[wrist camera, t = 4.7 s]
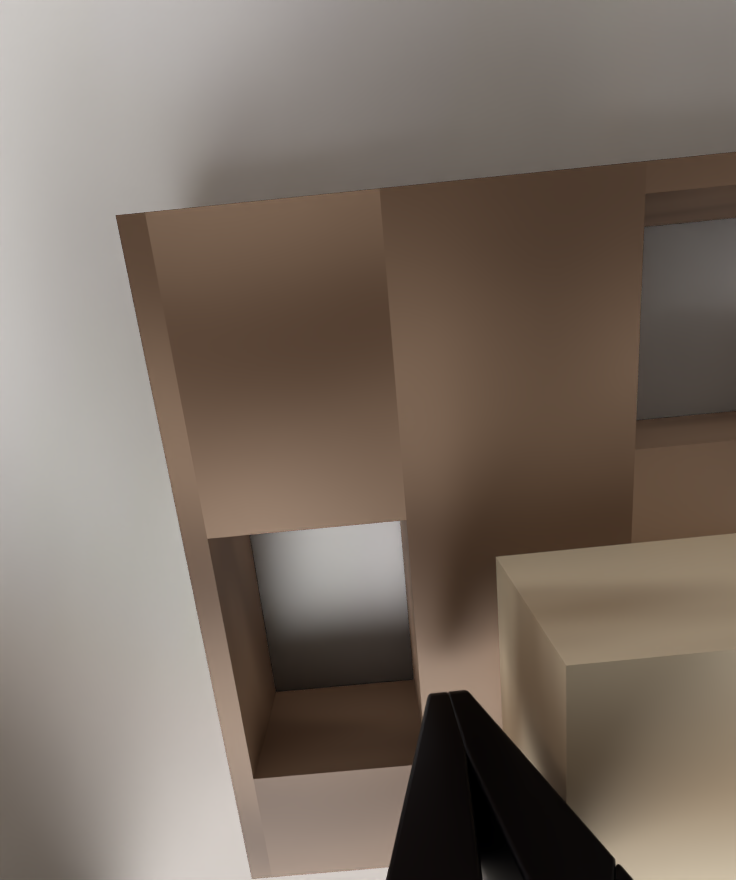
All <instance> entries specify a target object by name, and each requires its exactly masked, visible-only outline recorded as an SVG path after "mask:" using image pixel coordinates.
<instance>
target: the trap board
mask: <svg viewBox="0 0 736 880" xmlns="http://www.w3.org/2000/svg"><path fill="white" fill-rule="evenodd" d="M728 218H736V152H730V153H720V154H711V155H701V156H691V157H681V158H672V159H662V160H652V161H642V162H632V163H623V164H613V165H603V166H593V167H584V168H574V169H564V170H554V171H544V172H535V173H525V174H515V175H505V176H496V177H486V178H476V179H466V180H457V181H447V182H437V183H427V184H417V185H408V186H398V187H388V188H378V189H369V190H359V191H349V192H339V193H330V194H320V195H310V196H300V197H290V198H281V199H271V200H261V201H251V202H242V203H232V204H222V205H212V206H203V207H193V208H183V209H173V210H163V211H154V212H144V213H134V214H124V215H116V219H117V224H118V229H119V234H120V239H121V244H122V249H123V253H124V258H125V263H126V268H127V273H128V278H129V283H130V288H131V292H132V297H133V302H134V307H135V312H136V317H137V322H138V326H139V331H140V336H141V341H142V346H143V351H144V356H145V361H146V365H147V370H148V375H149V380H150V385H151V390H152V395H153V400H154V404H155V409H156V414H157V419H158V424H159V429H160V434H161V438H162V443H163V448H164V453H165V458H166V463H167V468H168V473H169V477H170V482H171V487H172V492H173V497H174V502H175V507H176V512H177V516H178V521H179V526H180V531H181V536H182V541H183V546H184V551H185V555H186V560H187V565H188V570H189V575H190V580H191V585H192V589H193V594H194V599H195V604H196V609H197V614H198V619H199V624H200V628H201V633H202V638H203V643H204V648H205V653H206V658H207V663H208V667H209V672H210V677H211V682H212V687H213V692H214V697H215V701H216V706H217V711H218V716H219V721H220V726H221V731H222V736H223V740H224V745H225V750H226V755H227V760H228V765H229V770H230V775H231V779H232V784H233V789H234V794H235V799H236V804H237V809H238V813H239V818H240V823H241V828H242V833H243V838H244V843H245V848H246V852H247V857H248V862H249V867H250V872H251V877H252V879H256V878H268V877H280V876H292V875H303V874H315V873H327V872H338V871H350V870H362V869H374V868H385V867H389V865H390V860H391V856H392V851H393V847H394V843H395V838H396V834H397V829H398V825H399V820H400V816H401V812H402V807H403V803H404V798H405V794H406V790H407V785H408V781H409V776H410V772H411V767H412V763H413V759H414V754H415V750H416V745H417V741H418V736H419V732H420V728H421V723H422V719H423V714H424V710H425V706H426V701H427V697H428V695H429V694H430V693H437V692H449V691H457V690H467V691H469V692H470V693H471V694H472V696H473V697H474V698H475V699H476V700H477V701H478V702H479V704H480V705H481V706H482V707H483V708H484V709H485V710H486V712H487V713H488V714H489V715H490V716H491V717H492V718H493V720H494V721H495V722H496V723H497V724H498V725H499V726H500V728H501V729H502V730H503V721H502V697H501V673H500V648H499V624H498V599H497V575H496V557H498V556H509V555H519V554H529V553H539V552H549V551H559V550H569V549H580V548H590V547H600V546H610V545H621V544H631V543H641V542H651V541H661V540H672V539H682V538H692V537H702V536H712V535H723V534H733V533H736V411H730V412H719V413H709V414H698V415H688V416H678V417H667V418H657V419H646V420H636V414H637V390H638V365H639V340H640V315H641V291H642V266H643V241H644V227H648V226H658V225H668V224H678V223H688V222H698V221H708V220H718V219H728ZM391 521H400V525H401V537H402V548H403V560H404V572H405V584H406V595H407V607H408V619H409V631H410V642H411V654H412V666H413V678H414V680H404V681H393V682H382V683H371V684H360V685H349V686H338V687H326V688H315V689H304V690H293V691H282V692H276V690H275V684H274V678H273V672H272V666H271V660H270V654H269V648H268V643H267V637H266V631H265V625H264V619H263V613H262V607H261V601H260V595H259V589H258V583H257V577H256V571H255V565H254V559H253V553H252V547H251V541H250V535H252V534H263V533H274V532H284V531H295V530H306V529H316V528H327V527H337V526H348V525H359V524H369V523H380V522H391Z"/></svg>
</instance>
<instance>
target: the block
mask: <svg viewBox="0 0 736 880" xmlns="http://www.w3.org/2000/svg"><path fill="white" fill-rule="evenodd" d="M496 575H497V599H498V624H499V648H500V673H501V697H502V721H503V731H504V732H505V733H506V734H507V736H508V737H509V738H510V739H511V740H512V741H513V742H514V744H515V745H516V746H517V747H518V748H519V749H520V750H521V752H522V753H523V754H524V755H525V756H526V757H527V758H528V760H529V761H530V762H531V763H532V764H533V765H534V766H535V768H536V769H537V770H538V771H539V772H540V773H541V774H542V776H543V777H544V778H545V779H546V780H547V781H548V782H549V784H550V785H551V786H552V787H553V788H554V789H555V790H556V792H557V793H558V794H559V795H560V796H561V797H562V798H563V800H564V801H565V802H566V803H567V804H568V805H569V807H570V808H571V809H572V810H573V811H574V812H575V813H576V815H577V816H578V817H579V818H580V819H581V820H582V821H583V823H584V824H585V825H586V826H587V827H588V828H589V829H590V831H591V832H592V833H593V834H594V835H595V836H596V837H597V839H598V840H599V841H600V842H601V843H602V844H603V845H604V847H605V848H606V849H607V850H608V851H609V852H610V853H611V855H612V856H613V857H614V858H615V860H616V865H617V864H620V865H621V866H622V867H623V868H624V869H625V870H626V871H627V873H628V874H629V875H630V876H631V877H632V878H633V879H634V880H736V533H733V534H723V535H712V536H702V537H692V538H682V539H672V540H661V541H651V542H641V543H631V544H621V545H610V546H600V547H590V548H580V549H569V550H559V551H549V552H539V553H529V554H519V555H509V556H498V557H496Z"/></svg>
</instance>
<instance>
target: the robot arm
mask: <svg viewBox="0 0 736 880" xmlns="http://www.w3.org/2000/svg"><path fill="white" fill-rule="evenodd" d="M386 880H634V879H633V878H632V877H631V876H630V875H629V874H628V873H627V871H626V870H625V869H624V868H623V867H622V866H621V865H620V864H617V865H616V860H615V858H614V857H613V856H612V855H611V853H610V852H609V851H608V850H607V849H606V848H605V847H604V845H603V844H602V843H601V842H600V841H599V840H598V839H597V837H596V836H595V835H594V834H593V833H592V832H591V831H590V829H589V828H588V827H587V826H586V825H585V824H584V823H583V821H582V820H581V819H580V818H579V817H578V816H577V815H576V813H575V812H574V811H573V810H572V809H571V808H570V807H569V805H568V804H567V803H566V802H565V801H564V800H563V798H562V797H561V796H560V795H559V794H558V793H557V792H556V790H555V789H554V788H553V787H552V786H551V785H550V784H549V782H548V781H547V780H546V779H545V778H544V777H543V776H542V774H541V773H540V772H539V771H538V770H537V769H536V768H535V766H534V765H533V764H532V763H531V762H530V761H529V760H528V758H527V757H526V756H525V755H524V754H523V753H522V752H521V750H520V749H519V748H518V747H517V746H516V745H515V744H514V742H513V741H512V740H511V739H510V738H509V737H508V736H507V734H506V733H505V732H504V731H503V730H502V729H501V728H500V726H499V725H498V724H497V723H496V722H495V721H494V720H493V718H492V717H491V716H490V715H489V714H488V713H487V712H486V710H485V709H484V708H483V707H482V706H481V705H480V704H479V702H478V701H477V700H476V699H475V698H474V697H473V696H472V694H471V693H470V692H469V691H467V690H457V691H449V692H437V693H430V694H429V695H428V697H427V701H426V706H425V710H424V714H423V719H422V723H421V728H420V732H419V736H418V741H417V745H416V750H415V754H414V759H413V763H412V767H411V772H410V776H409V781H408V785H407V790H406V794H405V798H404V803H403V807H402V812H401V816H400V820H399V825H398V829H397V834H396V838H395V843H394V847H393V851H392V856H391V860H390V865H389V869H388V873H387V878H386Z"/></svg>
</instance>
